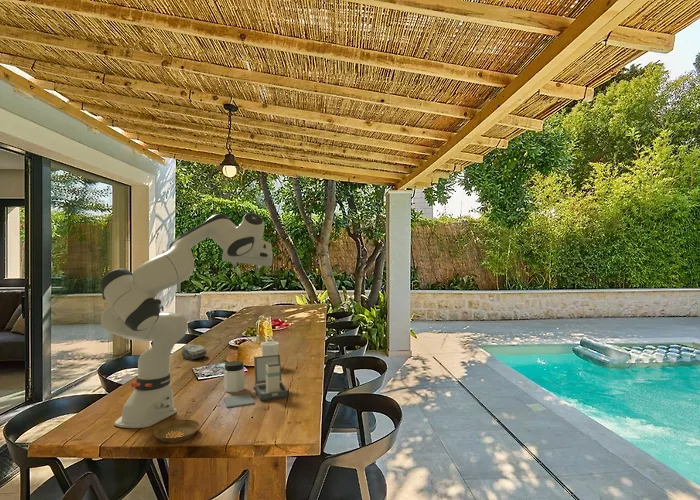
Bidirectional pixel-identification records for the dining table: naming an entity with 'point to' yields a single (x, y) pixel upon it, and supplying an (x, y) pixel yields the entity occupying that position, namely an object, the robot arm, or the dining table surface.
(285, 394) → the case
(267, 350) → the foam cup
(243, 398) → the mat
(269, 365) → the block
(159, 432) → the plant saucer
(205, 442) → the dining table surface
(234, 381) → the jar
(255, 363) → the grey picture frame
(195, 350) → the decorative stone
